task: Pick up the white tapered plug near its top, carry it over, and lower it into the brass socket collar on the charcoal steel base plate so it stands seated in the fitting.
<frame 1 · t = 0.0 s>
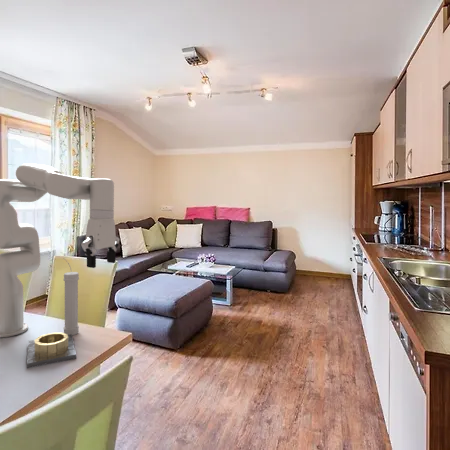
hand: (101, 264, 109), 31 cm above the table, tool pointing down, fingers open, 9 cm apart
fitting base: (51, 351, 111), on the table
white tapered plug: (70, 333, 126), on the table
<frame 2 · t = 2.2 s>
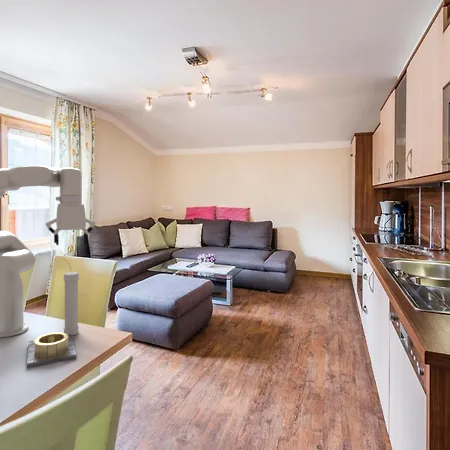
hand: (71, 244, 124), 36 cm above the table, tool pointing down, fingers open, 9 cm apart
nothing on the table moved.
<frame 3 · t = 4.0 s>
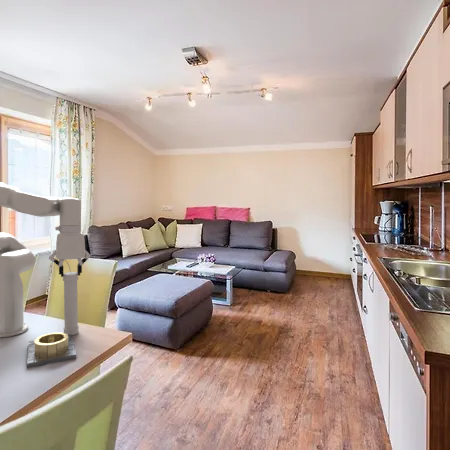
hand: (70, 275, 125), 23 cm above the table, tool pointing down, fingers closed on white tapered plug, 5 cm apart
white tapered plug: (70, 333, 126), on the table, touching gripper
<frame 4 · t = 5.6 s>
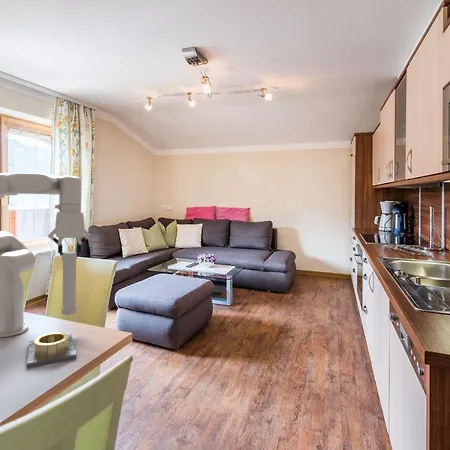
hand: (69, 254, 124), 32 cm above the table, tool pointing down, fingers closed on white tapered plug, 5 cm apart
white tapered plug: (68, 313, 126), point 8 cm above the table, touching gripper
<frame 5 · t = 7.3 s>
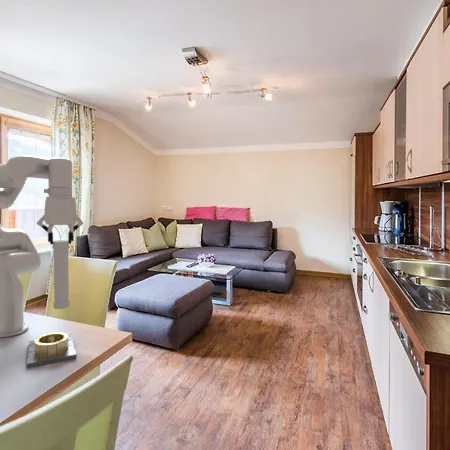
hand: (60, 243, 114), 37 cm above the table, tool pointing down, fingers closed on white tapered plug, 5 cm apart
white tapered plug: (60, 307, 116), point 14 cm above the table, touching gripper
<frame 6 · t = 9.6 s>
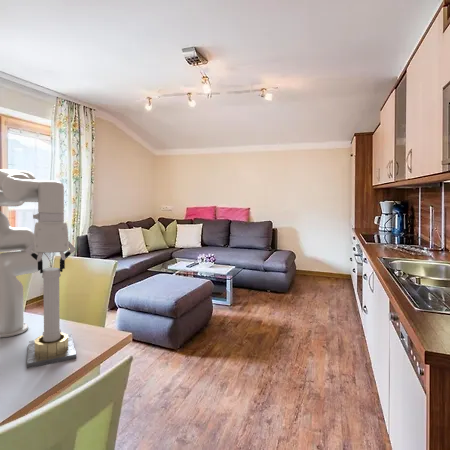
hand: (51, 271, 107), 29 cm above the table, tool pointing down, fingers closed on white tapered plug, 5 cm apart
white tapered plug: (50, 339, 109), point 5 cm above the table, touching gripper
when the fingers open (26 cm above the table, at t = 10.5 s): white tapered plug drops 1 cm, resting on fitting base.
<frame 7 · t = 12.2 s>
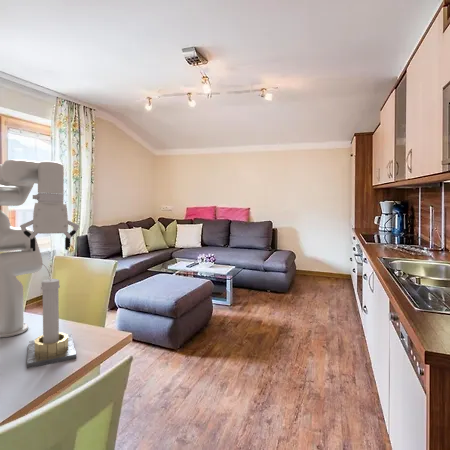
hand: (50, 250, 107), 36 cm above the table, tool pointing down, fingers open, 9 cm apart
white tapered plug: (50, 350, 109), point 1 cm above the table, touching fitting base
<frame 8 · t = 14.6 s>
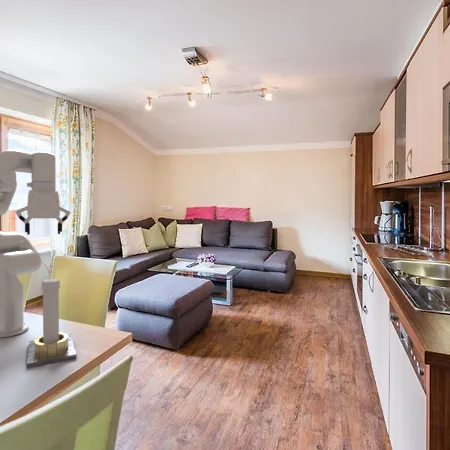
hand: (44, 234, 116), 40 cm above the table, tool pointing down, fingers open, 9 cm apart
nothing on the table moved.
at the end: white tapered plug 0.4 cm from the target spot on the fitting base, point 1.3 cm above the fitting base's base; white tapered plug tilted 0°; the gripper is holding nothing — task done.
